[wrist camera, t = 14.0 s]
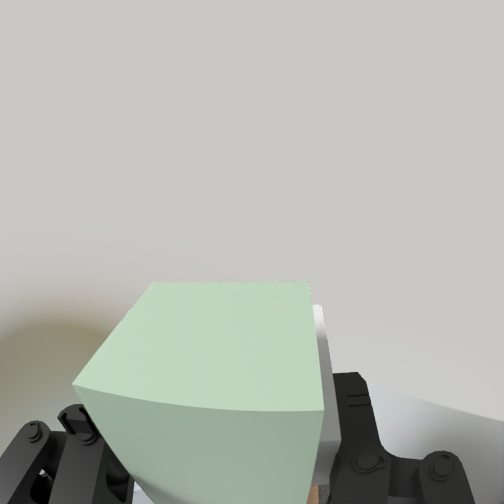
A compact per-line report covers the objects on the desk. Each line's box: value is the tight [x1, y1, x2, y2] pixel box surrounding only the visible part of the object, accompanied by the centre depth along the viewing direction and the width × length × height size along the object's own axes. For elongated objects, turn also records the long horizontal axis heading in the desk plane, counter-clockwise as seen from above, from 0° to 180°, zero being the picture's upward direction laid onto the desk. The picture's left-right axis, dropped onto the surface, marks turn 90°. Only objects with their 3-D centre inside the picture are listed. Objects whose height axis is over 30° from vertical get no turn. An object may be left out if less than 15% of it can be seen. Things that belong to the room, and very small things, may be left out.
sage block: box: [72, 281, 324, 504], centre depth 9 cm, size 4×4×14 cm
